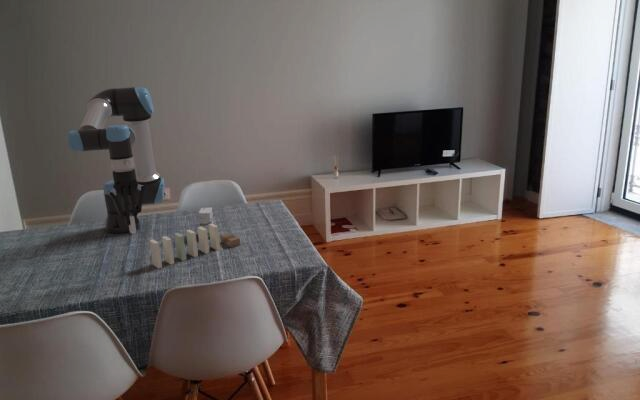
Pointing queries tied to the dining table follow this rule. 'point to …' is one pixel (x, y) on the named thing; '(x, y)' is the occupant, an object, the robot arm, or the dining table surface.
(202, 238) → the domino
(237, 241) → the end block
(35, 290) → the dining table surface
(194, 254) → the domino
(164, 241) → the domino
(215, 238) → the domino
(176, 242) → the domino
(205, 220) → the ink box
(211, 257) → the dining table surface
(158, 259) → the domino
